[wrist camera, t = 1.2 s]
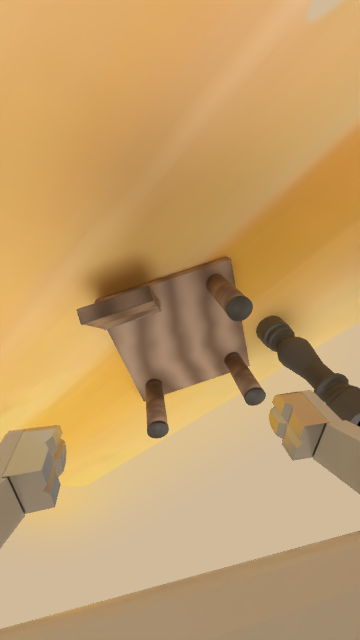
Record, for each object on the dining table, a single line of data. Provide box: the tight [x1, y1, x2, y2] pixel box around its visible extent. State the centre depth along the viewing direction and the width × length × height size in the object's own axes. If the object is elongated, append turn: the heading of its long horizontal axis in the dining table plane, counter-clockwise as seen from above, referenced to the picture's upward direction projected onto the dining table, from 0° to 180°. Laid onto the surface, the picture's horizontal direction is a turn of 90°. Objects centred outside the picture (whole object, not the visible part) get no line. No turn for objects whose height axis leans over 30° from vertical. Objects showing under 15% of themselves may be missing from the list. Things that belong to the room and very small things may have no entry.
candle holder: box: [256, 316, 360, 427], centre depth 41 cm, size 6×6×25 cm
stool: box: [95, 257, 266, 438], centre depth 43 cm, size 25×25×14 cm
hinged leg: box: [77, 286, 162, 330], centre depth 37 cm, size 10×2×11 cm
